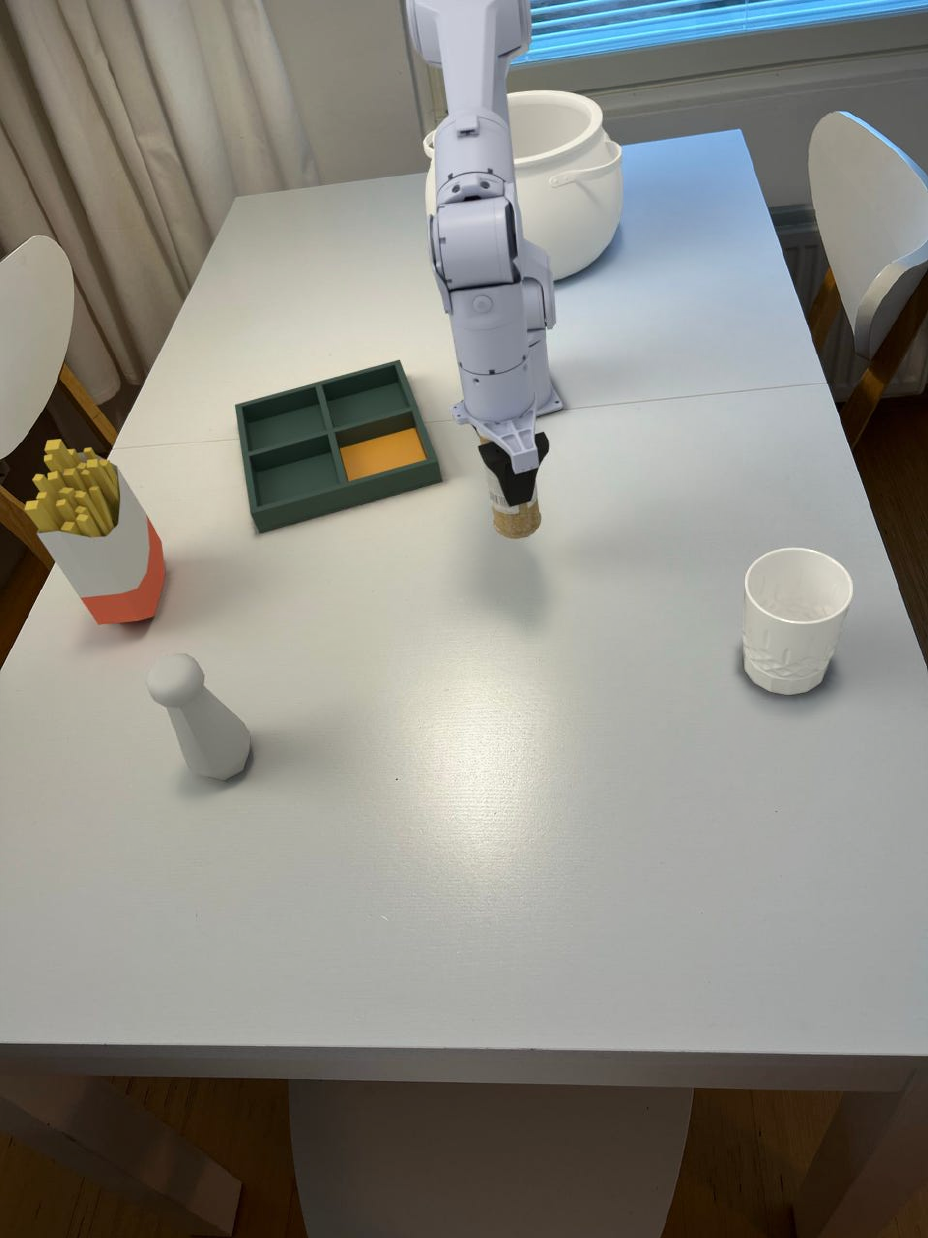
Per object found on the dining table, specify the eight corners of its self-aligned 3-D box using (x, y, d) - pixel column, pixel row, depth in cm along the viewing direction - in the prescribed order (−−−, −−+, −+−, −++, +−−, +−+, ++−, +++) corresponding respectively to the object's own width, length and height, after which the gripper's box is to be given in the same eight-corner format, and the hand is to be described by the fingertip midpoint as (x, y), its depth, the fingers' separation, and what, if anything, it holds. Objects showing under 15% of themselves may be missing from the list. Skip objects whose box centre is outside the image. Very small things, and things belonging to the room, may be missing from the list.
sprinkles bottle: (551, 524, 87) (539, 406, 77) (511, 548, 85) (493, 431, 75) (522, 499, 89) (506, 382, 79) (483, 522, 88) (462, 405, 78)
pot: (392, 276, 131) (365, 157, 119) (495, 189, 144) (481, 73, 132) (568, 317, 118) (559, 188, 106) (665, 218, 131) (667, 92, 118)
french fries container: (174, 557, 100) (100, 421, 86) (152, 636, 92) (68, 500, 79) (133, 562, 100) (53, 427, 87) (108, 641, 93) (17, 506, 79)
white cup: (837, 636, 80) (857, 554, 73) (829, 710, 76) (849, 631, 68) (743, 621, 83) (752, 541, 75) (729, 692, 78) (737, 614, 71)
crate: (242, 423, 114) (234, 404, 111) (404, 379, 115) (399, 358, 113) (259, 533, 100) (250, 513, 98) (442, 481, 101) (438, 460, 99)
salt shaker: (197, 737, 84) (137, 645, 74) (260, 727, 83) (208, 634, 73) (190, 794, 80) (126, 705, 70) (256, 783, 79) (201, 693, 70)
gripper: (423, 320, 78) (449, 448, 88) (466, 420, 69) (490, 550, 79) (504, 298, 78) (521, 427, 89) (558, 394, 69) (570, 527, 79)
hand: (511, 484), depth 84 cm, fingers closed on sprinkles bottle, 4 cm apart
